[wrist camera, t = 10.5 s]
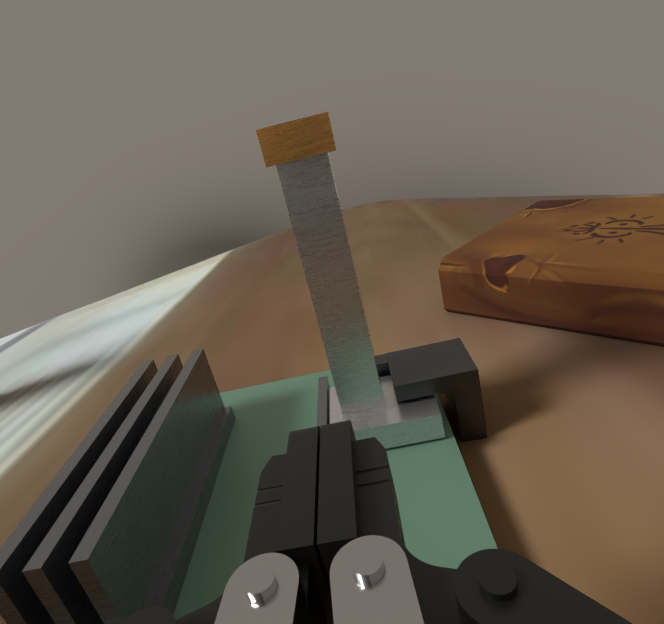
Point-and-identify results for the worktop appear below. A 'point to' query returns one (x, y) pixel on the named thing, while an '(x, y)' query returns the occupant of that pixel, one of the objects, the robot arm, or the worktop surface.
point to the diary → (567, 269)
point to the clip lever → (340, 289)
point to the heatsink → (165, 487)
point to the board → (272, 439)
